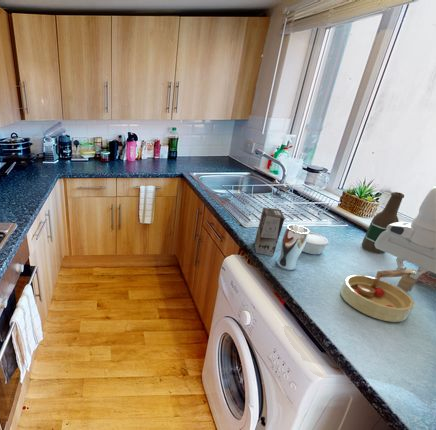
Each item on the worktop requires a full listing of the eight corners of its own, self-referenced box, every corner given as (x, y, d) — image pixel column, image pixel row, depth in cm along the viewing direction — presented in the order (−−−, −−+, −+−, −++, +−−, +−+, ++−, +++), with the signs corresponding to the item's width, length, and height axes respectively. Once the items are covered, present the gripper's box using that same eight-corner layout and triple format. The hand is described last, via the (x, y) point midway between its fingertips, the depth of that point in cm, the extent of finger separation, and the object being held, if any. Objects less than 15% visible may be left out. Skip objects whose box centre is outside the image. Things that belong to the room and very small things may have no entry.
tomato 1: (363, 296, 86) (357, 294, 89) (359, 288, 86) (353, 286, 89) (355, 300, 86) (349, 298, 89) (351, 292, 86) (345, 290, 89)
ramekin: (312, 241, 120) (316, 230, 118) (331, 256, 110) (336, 244, 108) (286, 241, 120) (289, 230, 118) (303, 256, 110) (307, 244, 107)
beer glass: (279, 257, 108) (290, 222, 102) (299, 265, 104) (312, 229, 97) (272, 265, 104) (283, 228, 97) (293, 273, 99) (306, 235, 93)
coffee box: (274, 256, 109) (285, 218, 102) (255, 253, 111) (265, 215, 104) (271, 245, 117) (281, 209, 110) (253, 242, 119) (263, 206, 112)
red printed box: (411, 282, 96) (425, 257, 92) (411, 278, 98) (424, 253, 94) (445, 293, 91) (462, 267, 87) (444, 288, 93) (460, 263, 89)
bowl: (417, 314, 82) (425, 300, 80) (387, 330, 77) (395, 316, 75) (358, 282, 95) (364, 270, 93) (328, 294, 90) (334, 281, 87)
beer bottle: (368, 252, 113) (394, 196, 103) (356, 243, 120) (379, 189, 110) (390, 255, 112) (418, 197, 102) (377, 245, 119) (402, 190, 109)
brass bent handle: (365, 296, 86) (376, 277, 84) (352, 287, 90) (361, 269, 87) (413, 293, 90) (424, 274, 87) (398, 284, 94) (408, 266, 91)
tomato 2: (378, 299, 88) (388, 295, 86) (373, 295, 87) (383, 291, 86) (374, 292, 90) (383, 289, 88) (369, 288, 89) (378, 284, 88)
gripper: (485, 251, 76) (457, 292, 82) (392, 220, 93) (375, 255, 99) (474, 256, 74) (446, 298, 79) (381, 223, 91) (364, 259, 96)
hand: (406, 274), depth 89 cm, fingers closed on brass bent handle, 2 cm apart
